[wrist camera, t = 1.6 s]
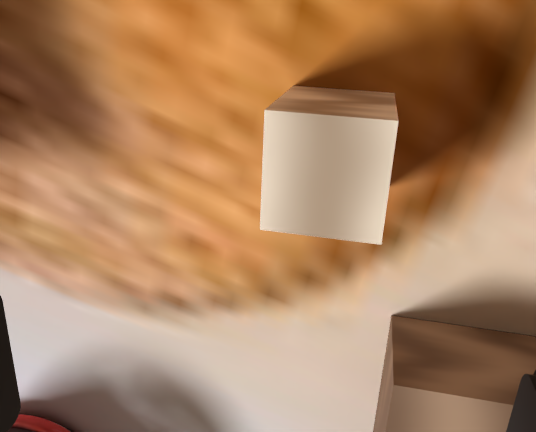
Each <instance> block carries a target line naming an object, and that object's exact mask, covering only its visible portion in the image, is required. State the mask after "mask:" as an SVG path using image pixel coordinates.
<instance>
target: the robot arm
mask: <svg viewBox="0 0 536 432" xmlns="http://www.w3.org/2000/svg"><path fill="white" fill-rule="evenodd" d="M20 407H21V406H20V398H19V392H18V386H17V381H16V375H15V369H14V364H13V358H12V352H11V346H10V341H9V335H8V329H7V324H6V318H5V312H4V307H3V301H2V298H1V296H0V432H7V431H8V430H9V429H10V428H11V427H12V426H13V424H14V423H15V422H16V420H17V418H18V415H19V412H20ZM506 432H536V370H535V371H534V374H533V375H531V374H524V375H523V376H522V378H521V381H520V384H519V388H518V391H517V395H516V398H515V402H514V405H513V409H512V412H511V416H510V419H509V423H508V427H507V430H506Z"/></svg>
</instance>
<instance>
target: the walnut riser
mask: <svg viewBox="0 0 536 432" xmlns="http://www.w3.org/2000/svg"><path fill="white" fill-rule="evenodd" d="M535 370H536V337H535V336H528V335H521V334H515V333H508V332H501V331H494V330H487V329H480V328H474V327H467V326H460V325H453V324H446V323H439V322H433V321H426V320H419V319H412V318H405V317H398V316H391V322H390V329H389V335H388V341H387V348H386V354H385V360H384V367H383V373H382V379H381V386H380V392H379V398H378V405H377V411H376V417H375V424H374V430H373V432H506V430H507V427H508V423H509V419H510V416H511V412H512V409H513V405H514V402H515V398H516V395H517V391H518V388H519V384H520V381H521V378H522V376H523V375H524V374H531V375H533V374H534V371H535Z"/></svg>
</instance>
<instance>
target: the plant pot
mask: <svg viewBox="0 0 536 432" xmlns="http://www.w3.org/2000/svg"><path fill="white" fill-rule="evenodd" d="M7 432H71V431H70V430H69V429H66V428H64V427H62V426H61V425H59V424H56V423H54V422H52V421H49V420H47V419H44V418H40V417H36V416H32V415H23V414H19V415H18V418H17V420H16V422H15V423H14V424H13V426H12V427H11V428H10V429H9V430H8V431H7Z"/></svg>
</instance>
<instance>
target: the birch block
mask: <svg viewBox="0 0 536 432" xmlns="http://www.w3.org/2000/svg"><path fill="white" fill-rule="evenodd" d="M398 122H399V120H398V113H397V106H396V100H395V93H388V92H374V91H360V90H347V89H333V88H319V87H305V86H293V87H291V88H290V89H289V90H288V91H287V92H285V93H284V94H283V95H282V96H281V97H279V98H278V99H277V100H276V101H275V102H273V103H272V104H271V105H270V106H269V107H268V108H266V109H265V114H264V139H263V164H262V190H261V215H260V230H266V231H274V232H283V233H291V234H299V235H307V236H315V237H323V238H331V239H339V240H347V241H356V242H364V243H372V244H380V245H381V243H382V236H383V229H384V222H385V215H386V208H387V200H388V193H389V186H390V179H391V172H392V165H393V158H394V150H395V143H396V136H397V129H398Z"/></svg>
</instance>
